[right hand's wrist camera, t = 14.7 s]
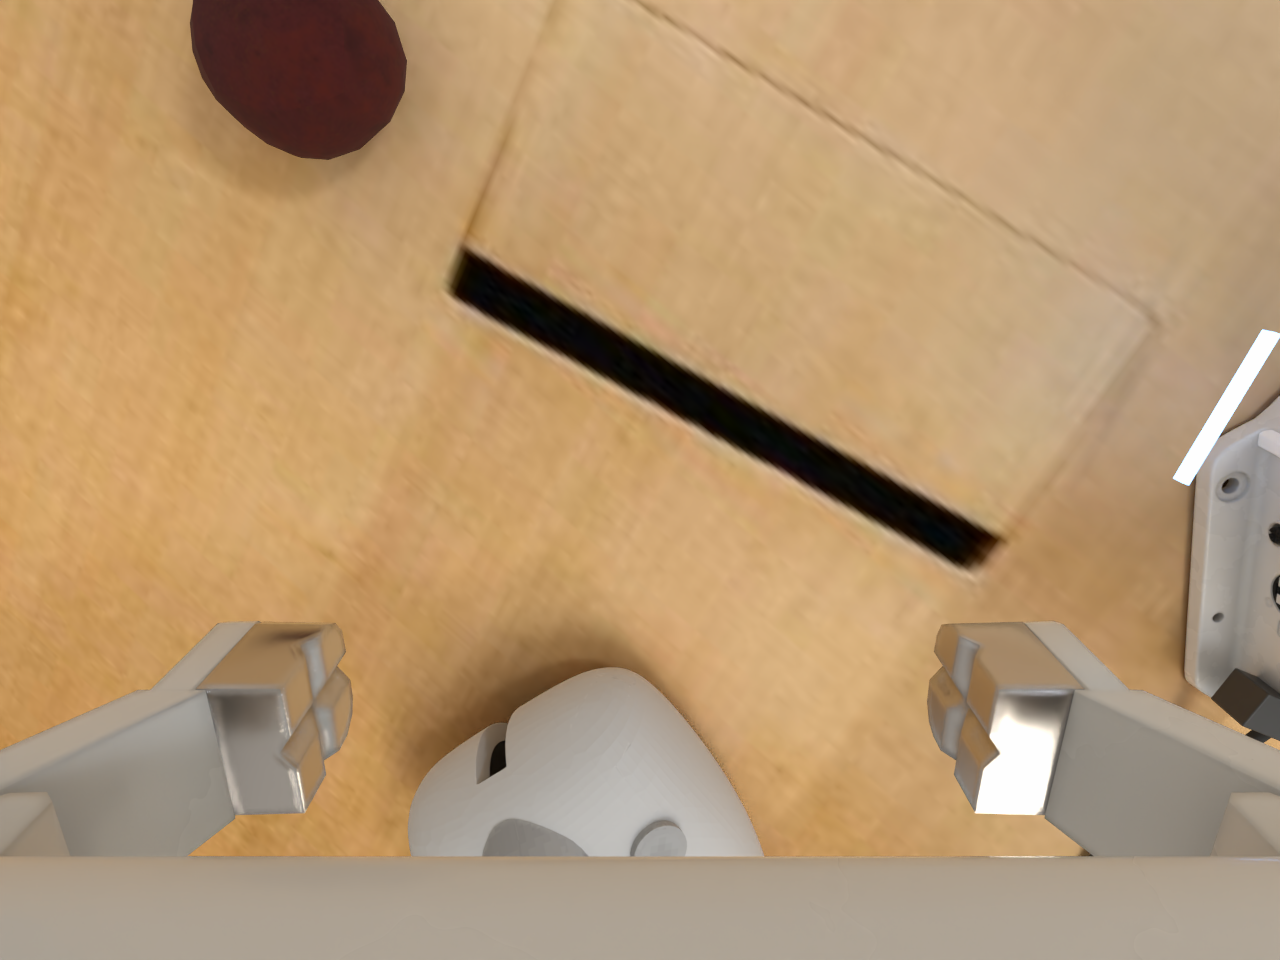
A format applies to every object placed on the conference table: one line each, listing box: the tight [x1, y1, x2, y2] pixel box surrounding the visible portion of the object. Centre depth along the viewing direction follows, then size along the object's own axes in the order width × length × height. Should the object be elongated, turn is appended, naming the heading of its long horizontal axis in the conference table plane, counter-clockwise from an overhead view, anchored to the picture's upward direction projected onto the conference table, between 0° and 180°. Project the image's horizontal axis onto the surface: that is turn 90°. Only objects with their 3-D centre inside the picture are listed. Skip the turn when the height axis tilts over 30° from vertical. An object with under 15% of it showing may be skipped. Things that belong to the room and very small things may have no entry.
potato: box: [190, 0, 407, 160], centre depth 30 cm, size 7×8×7 cm
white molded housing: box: [408, 667, 764, 856], centre depth 40 cm, size 22×23×15 cm
